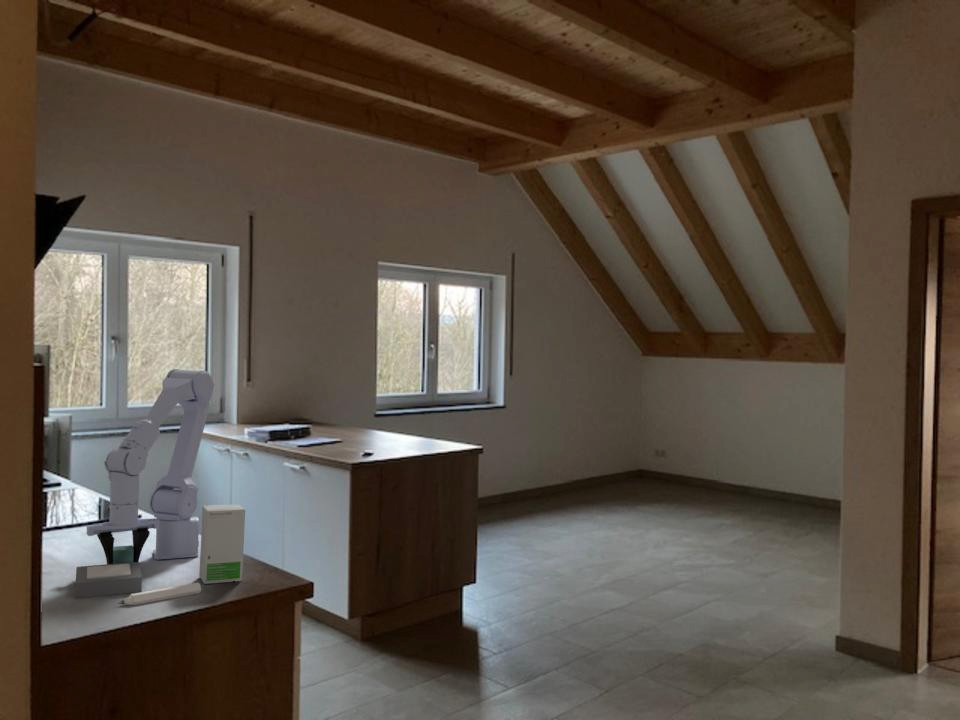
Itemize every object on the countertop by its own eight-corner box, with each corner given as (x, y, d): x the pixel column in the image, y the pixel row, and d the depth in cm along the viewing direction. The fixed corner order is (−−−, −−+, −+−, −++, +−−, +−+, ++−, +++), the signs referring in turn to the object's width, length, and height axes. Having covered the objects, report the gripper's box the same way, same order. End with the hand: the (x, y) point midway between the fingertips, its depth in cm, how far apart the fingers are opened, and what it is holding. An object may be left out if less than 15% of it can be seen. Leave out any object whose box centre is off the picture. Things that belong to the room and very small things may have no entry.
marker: (115, 612, 152) (198, 595, 163) (118, 609, 151) (201, 592, 162) (113, 598, 153) (195, 583, 164) (116, 595, 152) (199, 580, 162)
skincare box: (203, 585, 167) (205, 511, 167) (198, 576, 173) (200, 505, 173) (244, 581, 171) (246, 508, 171) (238, 572, 177) (240, 502, 177)
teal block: (132, 567, 178) (132, 545, 178) (133, 572, 175) (133, 549, 174) (112, 569, 176) (112, 546, 176) (112, 574, 173) (113, 551, 173)
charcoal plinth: (138, 575, 172) (138, 560, 172) (141, 591, 161) (142, 575, 161) (76, 581, 167) (76, 565, 167) (75, 598, 156) (75, 581, 156)
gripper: (153, 496, 183) (151, 555, 183) (84, 502, 174) (82, 564, 174) (162, 501, 177) (161, 562, 178) (91, 508, 168) (90, 572, 169)
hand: (122, 564), depth 175 cm, fingers closed on teal block, 5 cm apart
